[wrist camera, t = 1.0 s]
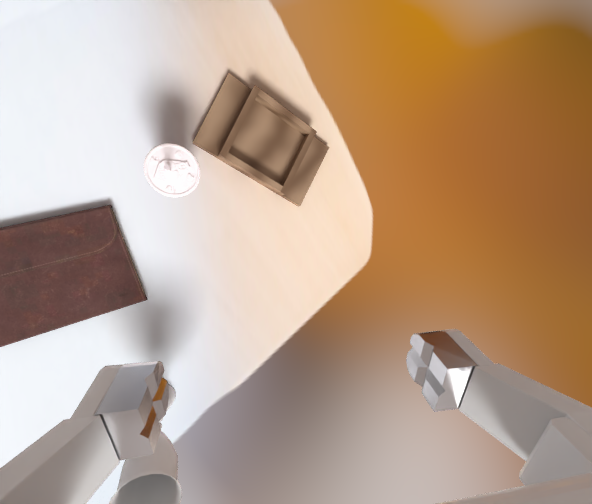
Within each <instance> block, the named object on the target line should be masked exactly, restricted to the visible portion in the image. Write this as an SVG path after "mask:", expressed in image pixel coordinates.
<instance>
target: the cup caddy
mask: <svg viewBox="0 0 592 504" xmlns="http://www.w3.org/2000/svg"><path fill="white" fill-rule="evenodd" d="M316 132H317V131H315V130H314V129H313V128H311V127H310V126H309V125H307V124H306V123H305V122H303V121H302V120H301V119H299V118H298V117H297V116H295V115H294V114H293V113H291V112H290V111H289V110H287V109H286V108H285V107H284V106H282V105H281V104H280V103H278V102H277V101H276V100H274V99H273V98H272V97H270V96H269V95H268V94H266V93H265V92H264V91H262V90H261V89H260V88H258V87H257V86H256V85H254V87H253V89H252V90H251V89H250V88H249V87H247V86H246V85H245V84H243V83H242V82H241V81H239V80H238V79H237V78H235V77H234V76H232V75H231V74H230V73H228V75H227V77H226V79H225V81H224V83H223V85H222V87H221V89H220V91H219V93H218V95H217V96H216V98H215V100H214V102H213V104H212V106H211V108H210V110H209V112H208V114H207V116H206V118H205V120H204V122H203V124H202V126H201V128H200V129H199V131H198V133H197V135H196V137H195V139H194V141H193V144H194V145H196V146H198V147H200V148H201V149H203V150H205V151H206V152H208V153H210V154H211V155H213V156H215V157H216V158H218V159H220V160H221V161H223V162H225V163H226V164H228V165H230V166H231V167H233V168H235V169H236V170H238V171H240V172H241V173H243V174H245V175H246V176H248V177H250V178H251V179H253V180H255V181H257V182H258V183H260V184H262V185H263V186H265V187H267V188H268V189H270V190H272V191H273V192H275V193H277V194H278V195H280V196H282V197H283V198H285V199H287V200H288V201H290V202H292V203H293V204H295V205H297V206H300V205H301V203H302V201H303V199H304V197H305V195H306V193H307V191H308V189H309V187H310V185H311V183H312V181H313V179H314V177H315V175H316V173H317V171H318V169H319V167H320V165H321V163H322V161H323V159H324V157H325V155H326V153H327V151H328V149H329V147H328V146H326V145H325V144H324V143H322V142H321V141H320V140H318V139H317V138H316V137H314V136H315V134H316Z"/></svg>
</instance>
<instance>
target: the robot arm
mask: <svg viewBox="0 0 592 504" xmlns="http://www.w3.org/2000/svg"><path fill="white" fill-rule="evenodd" d="M410 344H411V345H412V347H413V348H412V349H411V350H410V351H409V352H408V354H407V359H406V361H407V368H408V371H409V373H410V376H411V377H412V379H413V380H414V381H415V382H416V383H417V384H419V385H421V386H422V394H423V396H424V397H425V399H426V400H427V402H428V403H429V405H430V406H431V408H432V409H433V411H434V412H435V411H444V410H452V409H459V411H461V412H462V413H463V414H465V415H466V416H467V417H469V418H470V419H471V420H473V421H474V422H476V424H478V425H479V426H480V427H482V428H483V429H484V430H486V431H487V432H488V433H490V434H491V435H492V436H494V437H495V438H496V439H498V440H499V441H500V442H502V443H503V444H504V445H505V446H507V447H508V448H510V449H511V450H512V451H513V452H515V453H516V454H517V455H519V456H520V457H521V458H523V459H524V460H525V461H526V463H525V464H524V466H523V468H522V470H521V471H520V477H519V478H520V480H521V481H522V482H523V484H524V485H525V486H521V487H516V488H511V489H506V490H501V491H496V492H491V493H486V494H481V495H476V496H472V497H467V498H462V499H457V500H452V501H447V502H442V503H437V504H592V408H591V407H589V406H587V405H585V404H582V403H581V402H579V401H576V400H574V399H572V398H570V397H568V396H566V395H564V394H562V393H560V392H557V391H555V390H553V389H551V388H549V387H547V386H544V385H543V384H541V383H539V382H536V381H534V380H532V379H530V378H528V377H526V376H524V375H522V374H520V373H517V372H515V371H513V370H511V369H509V368H507V367H505V366H503V365H501V364H494V363H493V362H492V361H491V360H490V359H489V358H488V357H487V356H486V355H484V354H483V353H482V352H481V351H480V350H479V349H478V348H477V347H476V346H475V345H474V344H473V343H472V342H471V341H470V340H469V339H468V338H467V337H466V336H465V335H463V333H462V332H460V331H459V330H457V329H449V330H442V331H433V332H425V333H416V334H413V336H412V337H411V341H410ZM163 373H164V367H163V364H162V362H160V361H155V362H143V363H130V364H124V365H111V366H105V367H104V368H102V369H101V370H100V371H99V373H98V375H97V376H96V378H95V380H94V381H93V383H92V384H91V386H90V388H89V389H88V391H87V392H86V394H85V396H84V397H83V399H82V401H81V402H80V404H79V405H78V407H77V409H76V410H75V412H74V413H73V415H72V417H71V418H70V419H66V420H63V421H62V422H60V423H59V424H58V425H56V426H55V427H54V428H53V429H51V430H50V431H49V432H47V433H46V434H45V435H43V436H42V437H41V438H40V439H38V440H37V441H36V442H34V443H33V444H32V445H30V446H29V447H28V448H26V449H25V450H24V451H23V452H21V453H20V454H19V455H17V456H16V457H15V458H13V459H12V460H11V461H10V462H8V463H7V464H6V465H4V466H3V467H2V468H0V504H86V503H87V502H88V500H89V499H90V498H91V497H92V496H93V494H94V493H95V492H96V491H97V490H98V488H99V487H100V486H101V485H102V484H103V482H104V481H105V480H106V479H107V477H108V476H109V475H110V474H111V473H112V471H113V470H114V469H115V468H116V467H117V465H118V464H119V463H120V461H119V460H125V459H130V458H136V457H141V456H147V455H152V454H154V452H155V448H156V445H157V441H158V438H159V435H160V431H161V428H160V425H159V421H160V420H161V419H162V418H163V417H164V416H165V414H166V411H167V407H168V401H169V386H168V382H167V380H165V379H164V378H162V376H163Z"/></svg>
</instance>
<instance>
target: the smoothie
mask: <svg viewBox="0 0 592 504" xmlns="http://www.w3.org/2000/svg"><path fill="white" fill-rule="evenodd" d="M144 173H145V176H146V179H147V181H148V182H149V184H150V185H151V186H152V188H154V189H155V190H156V191H157V192H159V193H161V194H163V195H165V196H169V197H182V196H185V195H187V194H189V193H191V192H192V191H193V190H194V189H195V188H196V187H197V185H198V183H199V180H200V167H199V164H198V162H197V160H196V158H195V157H194V155H193V154H192V153H191V152H190V151H189V150H187V149H186V148H184V147H182V146H180V145H177V144H172V143H165V144H161V145H158V146H156V147H154V148H153V149H152V150H150V152H149V153H148V154H147V156H146V158H145V161H144Z"/></svg>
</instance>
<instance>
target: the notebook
mask: <svg viewBox="0 0 592 504" xmlns="http://www.w3.org/2000/svg"><path fill="white" fill-rule="evenodd" d="M110 208H112V206H111V205H108V206H103V207H98V208H93V209H88V210H84V211H79V212H74V213H69V214H65V215H60V216H55V217H50V218H45V219H41V220H36V221H31V222H26V223H22V224H17V225H12V226H7V227H2V228H0V347H2V346H5V345H8V344H11V343H14V342H18V341H21V340H24V339H27V338H30V337H33V336H36V335H39V334H42V333H46V332H49V331H52V330H55V329H58V328H61V327H64V326H67V325H70V324H73V323H77V322H80V321H83V320H86V319H89V318H92V317H95V316H98V315H101V314H105V313H108V312H111V311H114V310H117V309H120V308H123V307H126V306H129V305H133V304H136V303H139V302H142V301H145V300H147V297H146V296H145V294H144V291H143V288H142V286H141V283H140V281H139V278H138V275H137V273H136V270H135V268H134V265H133V262H132V260H131V257H130V255H129V252H128V250H127V247H126V244H125V242H124V239H123V237H122V234H121V231H120V229H119V226H118V224H117V221H116V218H115V216H114V213H113V211H112V209H110Z"/></svg>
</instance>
